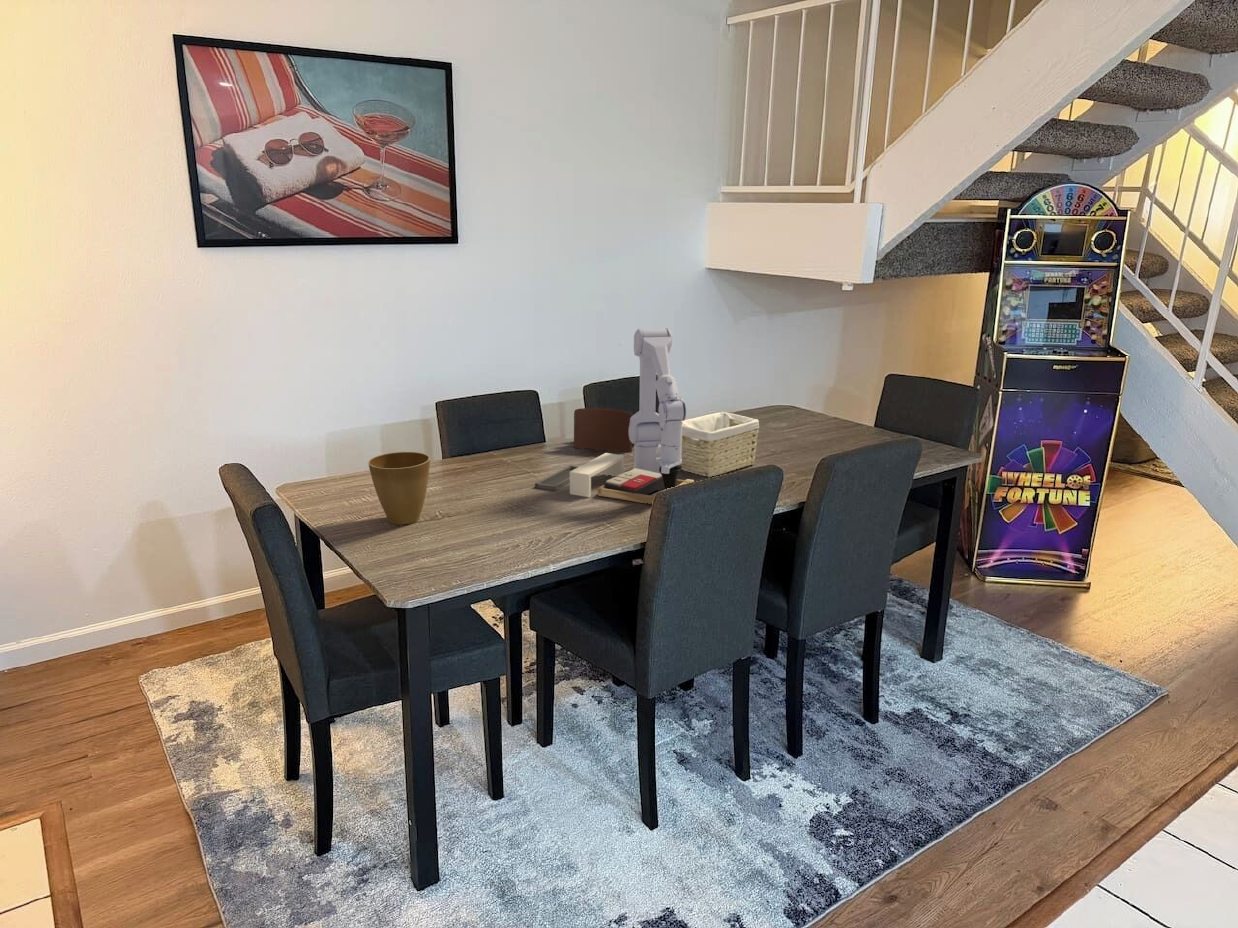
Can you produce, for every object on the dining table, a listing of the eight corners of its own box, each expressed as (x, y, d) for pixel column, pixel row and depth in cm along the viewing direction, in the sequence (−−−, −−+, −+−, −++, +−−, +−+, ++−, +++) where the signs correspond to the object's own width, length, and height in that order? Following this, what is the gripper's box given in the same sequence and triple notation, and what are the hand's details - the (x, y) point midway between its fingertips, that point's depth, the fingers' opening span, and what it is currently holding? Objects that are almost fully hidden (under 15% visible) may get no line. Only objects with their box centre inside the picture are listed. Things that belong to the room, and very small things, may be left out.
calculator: (603, 480, 242) (634, 465, 254) (603, 495, 244) (635, 479, 255) (635, 488, 236) (666, 472, 248) (635, 502, 238) (666, 487, 249)
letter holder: (632, 452, 286) (632, 410, 282) (573, 448, 290) (573, 406, 286) (638, 445, 295) (638, 404, 291) (581, 441, 299) (581, 400, 295)
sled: (626, 478, 257) (626, 469, 256) (693, 488, 248) (694, 479, 248) (597, 495, 241) (597, 486, 241) (668, 507, 232) (668, 498, 232)
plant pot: (408, 506, 231) (405, 448, 227) (445, 519, 222) (442, 458, 218) (360, 521, 220) (355, 460, 216) (397, 534, 211) (392, 471, 207)
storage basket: (707, 480, 257) (710, 431, 253) (668, 468, 269) (669, 421, 264) (759, 465, 273) (762, 419, 269) (720, 454, 284) (722, 410, 280)
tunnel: (571, 468, 267) (571, 448, 265) (623, 476, 259) (623, 455, 258) (533, 488, 248) (533, 466, 246) (588, 497, 240) (588, 474, 239)
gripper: (662, 436, 245) (661, 482, 249) (650, 449, 232) (649, 498, 236) (687, 438, 244) (685, 485, 247) (676, 451, 230) (675, 500, 234)
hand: (669, 491), depth 241 cm, fingers closed
